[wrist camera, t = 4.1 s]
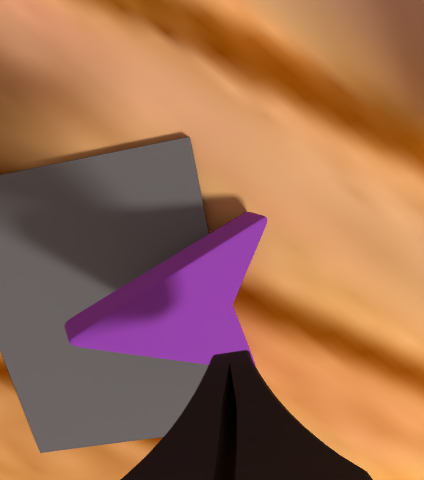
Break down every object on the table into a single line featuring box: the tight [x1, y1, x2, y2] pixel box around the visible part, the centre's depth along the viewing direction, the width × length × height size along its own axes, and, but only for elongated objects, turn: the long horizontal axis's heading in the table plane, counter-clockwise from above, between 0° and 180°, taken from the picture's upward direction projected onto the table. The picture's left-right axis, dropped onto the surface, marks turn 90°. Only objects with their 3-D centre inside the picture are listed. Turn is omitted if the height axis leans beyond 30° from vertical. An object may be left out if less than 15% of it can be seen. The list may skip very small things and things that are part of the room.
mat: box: [0, 137, 209, 453], centre depth 20 cm, size 14×18×1 cm
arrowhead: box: [64, 212, 267, 365], centre depth 17 cm, size 10×2×10 cm
